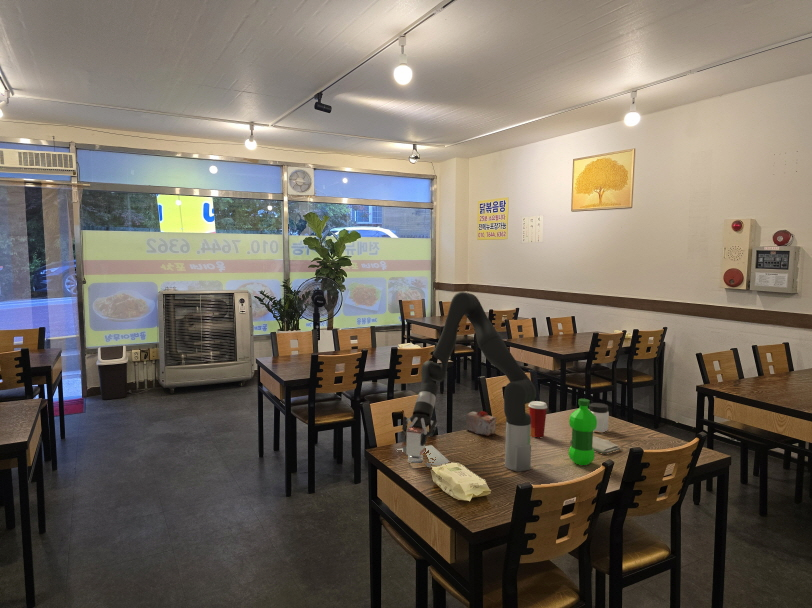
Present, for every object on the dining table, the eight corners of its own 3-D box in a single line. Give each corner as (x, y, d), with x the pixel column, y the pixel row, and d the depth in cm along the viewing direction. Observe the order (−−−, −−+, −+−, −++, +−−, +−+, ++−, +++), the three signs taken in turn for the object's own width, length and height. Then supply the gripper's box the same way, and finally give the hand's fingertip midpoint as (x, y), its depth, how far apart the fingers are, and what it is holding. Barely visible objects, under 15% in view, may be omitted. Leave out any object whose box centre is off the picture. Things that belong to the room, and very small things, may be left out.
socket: (425, 451, 208) (425, 427, 207) (420, 456, 202) (421, 432, 201) (410, 449, 210) (411, 425, 209) (405, 454, 204) (406, 430, 203)
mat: (453, 465, 203) (453, 464, 203) (413, 470, 198) (413, 469, 198) (431, 446, 224) (431, 445, 224) (395, 449, 219) (395, 449, 219)
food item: (498, 433, 241) (499, 412, 240) (489, 438, 235) (489, 416, 234) (473, 427, 250) (473, 406, 249) (463, 431, 244) (464, 410, 243)
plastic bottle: (564, 458, 212) (566, 396, 210) (590, 458, 212) (593, 397, 210) (571, 467, 202) (573, 403, 200) (599, 468, 202) (602, 403, 200)
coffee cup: (548, 435, 240) (549, 402, 239) (542, 440, 233) (544, 406, 232) (530, 431, 244) (531, 399, 243) (524, 436, 238) (525, 403, 236)
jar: (601, 434, 242) (602, 408, 241) (584, 430, 248) (585, 405, 247) (610, 430, 248) (611, 405, 247) (593, 426, 254) (594, 401, 253)
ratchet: (425, 462, 204) (425, 445, 204) (410, 464, 202) (410, 446, 202) (413, 450, 217) (414, 433, 216) (399, 452, 215) (399, 435, 214)
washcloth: (604, 457, 215) (605, 450, 215) (568, 444, 230) (568, 437, 230) (622, 451, 222) (622, 444, 222) (585, 439, 237) (585, 432, 237)
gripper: (405, 398, 214) (394, 436, 204) (440, 402, 209) (430, 441, 199) (409, 408, 219) (399, 445, 209) (443, 412, 214) (434, 450, 204)
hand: (414, 443), depth 204 cm, fingers open, 5 cm apart
